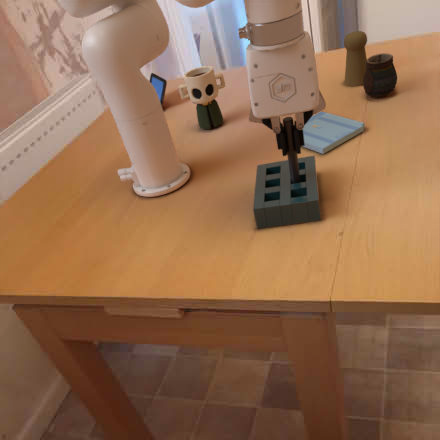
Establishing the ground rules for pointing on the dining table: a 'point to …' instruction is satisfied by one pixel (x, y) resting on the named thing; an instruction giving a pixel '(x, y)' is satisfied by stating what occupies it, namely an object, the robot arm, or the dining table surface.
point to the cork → (355, 58)
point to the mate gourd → (379, 76)
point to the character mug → (204, 94)
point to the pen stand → (286, 194)
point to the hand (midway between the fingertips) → (291, 150)
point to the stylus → (291, 150)
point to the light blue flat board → (329, 131)
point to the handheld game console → (159, 86)
